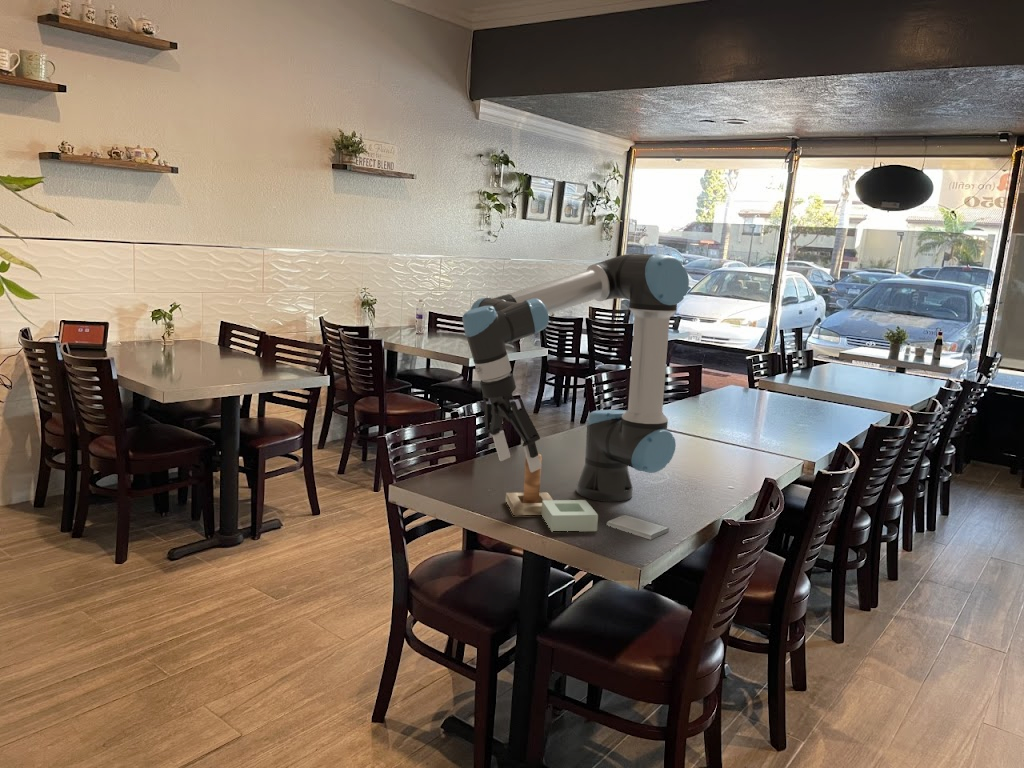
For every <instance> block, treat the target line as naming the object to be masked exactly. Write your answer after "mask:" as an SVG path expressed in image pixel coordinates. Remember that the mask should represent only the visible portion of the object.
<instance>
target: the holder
mask: <svg viewBox="0 0 1024 768" xmlns="http://www.w3.org/2000/svg"><path fill="white" fill-rule="evenodd" d="M523 495H524V492H505V503H506V502H507V504H508V505H509V507H510V509H511V511H512V513H513V515H541V511H542V500H554V499H553V498H552V496H551V495H550V494H549V493H548V492H546V491H545V492H544V491H543V492H540V494H539V503H523ZM507 504H506V505H507ZM510 509H509V510H510ZM511 511H510V512H511ZM512 513H511V514H512ZM513 515H512V516H513Z"/></svg>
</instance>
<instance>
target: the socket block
mask: <svg viewBox="0 0 1024 768" xmlns="http://www.w3.org/2000/svg"><path fill="white" fill-rule="evenodd" d="M541 515H542V517H543V518H544V520H545V521H544V520H543V521H544V522H546V523H547V524H546V523H545V524H546V525H548V526H547V528H548V529H549V528H550V529H549V531H551V533H554V532H553V531H567V532H566V533H569V532H568V531H579V532H597V531H598V523H599V522H598V521H599V514H598V512H596V511H595V509H593V507H592V506H591V504H589V502H588V501H587V500H586V499H566V500H565V499H561V500H559V499H555V500H554V499H553V500H542V511H541ZM542 517H541V518H542ZM543 518H542V519H543Z"/></svg>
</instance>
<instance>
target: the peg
mask: <svg viewBox="0 0 1024 768" xmlns="http://www.w3.org/2000/svg"><path fill="white" fill-rule="evenodd" d="M538 455H539V459H540V462H541V463H542V460H543V459H542V454H540V453H538ZM541 474H542V468H540V469H538V470H536V471H534V472H530V469H529V466H528V462H527V459H526V458H525V462H524V480H523V481H524V482H523V483H524V484H523V493H524V495H523V503H539V494H540V490H541V489H540V488H541Z"/></svg>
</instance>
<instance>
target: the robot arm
mask: <svg viewBox="0 0 1024 768" xmlns="http://www.w3.org/2000/svg"><path fill="white" fill-rule="evenodd" d="M688 274H689V273H688V271H687V268H686V266H685V265H683V262H681V260H679V259H678V258H677V257H674V256H671V255H666V254H661V253H660V254H649V253H647V254H646V253H626V254H621V255H619V256H615V257H612V258H609V259H605V260H602V261H600V262H597V263H593V264H590V265H589V266H588V267H587V268H586V270H583V271H581V272H577V273H574V274H570V275H567V276H564V277H560V278H557V279H553V280H550V281H547V282H544V283H541V284H538V285H534V286H530V287H527V288H523V289H520V290H517V291H513V292H510V293H508V294H505V295H499V296H497V297H493V298H492V297H488V296H487V297H482V298H478V299H477V300H475V301H474V303H472V305H471V306H470V307H471V308H470V310H467V311H466V312H465V313H463V315H462V325H463V329H464V330H463V331H464V335H465V338H466V340H467V342H468V343H467V344H468V347H469V349H470V353H471V356H472V359H473V360H472V361H473V364H474V367H475V369H474V372H475V373H476V375H477V377H478V380H480V382H479V386H480V388H481V393H482V400H483V410H484V428H485V430H486V431H487V432H488V431H489V434H490V435H492V439H493V443H494V446H495V449H496V450H495V451H496V453H497V456H498V459H499V461H500V462H503V461H505V460H508V459H509V458H511V453H510V449H509V445H508V443H507V439H506V436H505V431H503V430H504V428H503V421H504V419H506V421H507V422H509V423H510V425H512V427H513V428H514V429H515V430H514V431H515V432H517V434H518V436H519V437H520V438H521V440H522V442H523V443H522V447H523V451H524V455H525V459H527V462H528V466H529V469H530V472H534V471H536V470H538V469H540V468H541V469H542V468H543V467H542V461H541V462H540V459H539V455H538V454H539V452H538V448H537V444H536V442H537V441H539V440H540V439H541V437H540V434H539V433H538V431H537V429H536V427H535V425H534V423H533V421H532V419H531V417H530V416H529V413H528V411H527V409H526V408H525V404H524V401H523V399H522V397H520V398H519V397H518V398H517V399H515V398H514V396H513V393H514V392H515V391H516V389H517V386H516V382H515V378H514V374H513V373H511V371H512V366H511V362H510V359H509V355H508V352H507V349H506V345H509V344H510V343H511V344H512V343H513V342H517V341H520V340H522V339H524V338H527V337H529V336H532V335H536V334H537V333H539V332H541V331H544V330H545V329H546V328H547V327H548V325H549V322H550V316H549V314H552V313H556V312H559V311H562V310H565V309H568V308H569V309H570V308H572V307H575V306H578V305H581V304H584V303H588V302H591V301H597V302H603V301H604V302H605V301H607V300H612V299H615V300H616V299H619V300H620V299H621V300H628V302H629V303H628V309H629V311H630V312H631V313H632V314H633V316H634V318H633V319H634V320H633V335H632V349H631V350H632V351H631V363H630V375H629V376H630V378H629V390H628V404H627V409H626V410H625V409H624V410H623V409H600V410H599V409H598V410H593V411H591V412H590V413H588V418H587V423H586V439H585V456H584V466H583V467H582V470H581V472H580V475H579V477H578V480H577V483H576V493H577V494H578V495H580V496H581V497H583V498H586V499H589V500H593V501H599V502H600V501H601V502H611V503H612V502H623V501H627V500H630V499H631V498H632V497H633V484H632V479H631V476H630V471H629V467H630V468H632V469H634V470H636V471H639V472H644V473H647V474H654V473H658V472H660V471H662V470H663V469H664V468H666V466H667V465H668V464H670V462H671V461H672V459H673V457H674V454H675V452H676V439H675V437H674V435H673V433H671V431H669V430H668V423H669V422H668V419H669V418H668V417H667V416H666V415H665V414H664V412H663V407H664V397H665V395H664V394H665V385H666V384H665V381H666V368H667V354H668V343H669V342H668V341H669V331H670V330H669V329H670V318H671V317H672V316H673V315H674V314H675V313H676V312H677V309H678V308H677V307H678V304H679V303H680V302H682V301H683V300H684V297H685V296H687V294H688V292H689V287H690V286H689V285H690V284H689V283H690V279H689V275H688Z"/></svg>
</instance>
